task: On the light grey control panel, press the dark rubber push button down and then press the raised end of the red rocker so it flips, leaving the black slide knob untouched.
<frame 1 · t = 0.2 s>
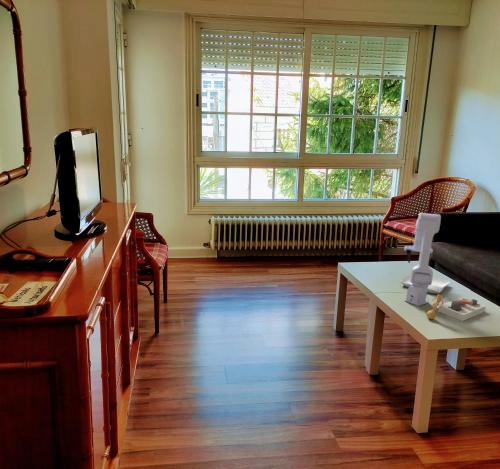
hand: (416, 263, 251), 11 cm above the table, tool pointing down, fingers open, 7 cm apart
panel: (461, 311, 215), on the table
slider: (473, 302, 215), point 4 cm above the table, slide at -2.0 cm
rocker: (463, 301, 213), point 5 cm above the table, hinge at -15.0°
salad plate: (424, 287, 246), on the table
button: (456, 305, 210), point 4 cm above the table, slide at 0.0 cm
figurine: (432, 319, 205), on the table
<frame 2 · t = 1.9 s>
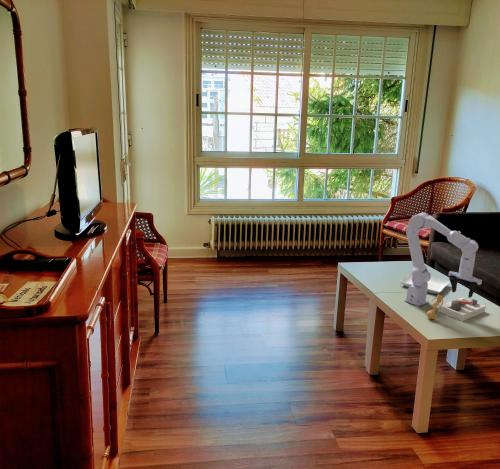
hand: (461, 294, 210), 10 cm above the table, tool pointing down, fingers open, 7 cm apart
nothing on the table moved.
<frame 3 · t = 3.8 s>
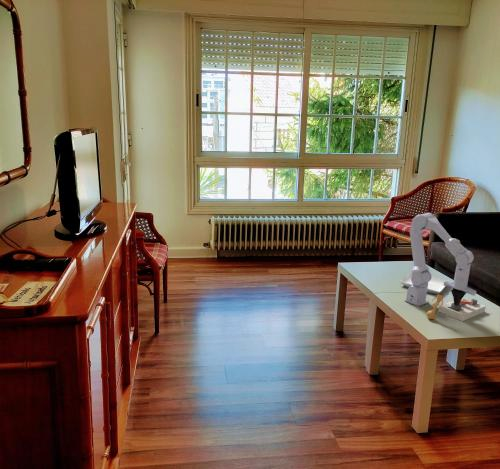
hand: (456, 304, 210), 5 cm above the table, tool pointing down, fingers closed, pressing on button
button: (455, 307, 210), point 3 cm above the table, slide at 1.1 cm, touching gripper
everything else where it was.
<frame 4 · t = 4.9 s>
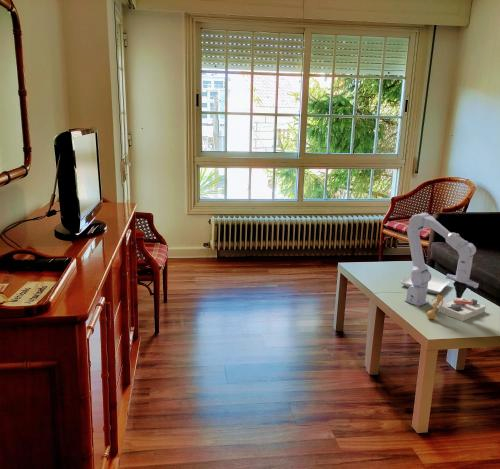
hand: (458, 297, 209), 8 cm above the table, tool pointing down, fingers closed
button: (455, 309, 210), point 3 cm above the table, slide at 1.8 cm
everything else where it was.
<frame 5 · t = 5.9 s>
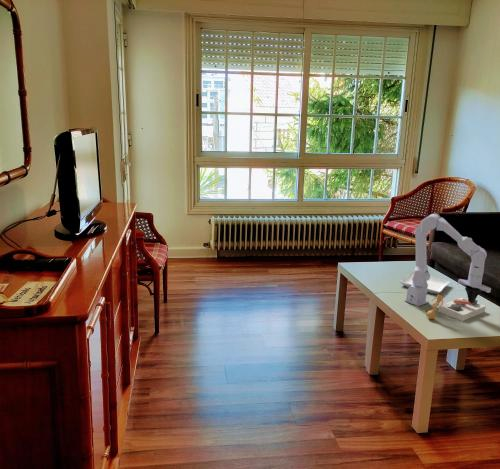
hand: (471, 302, 210), 6 cm above the table, tool pointing down, fingers closed, pressing on rocker
rocker: (463, 301, 213), point 5 cm above the table, hinge at -14.4°, touching gripper
everything else where it was.
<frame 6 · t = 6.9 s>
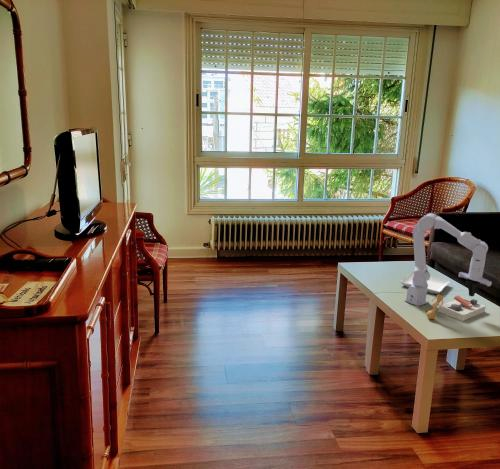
hand: (471, 295, 210), 9 cm above the table, tool pointing down, fingers closed
rocker: (463, 301, 213), point 5 cm above the table, hinge at 14.7°
everything else where it was.
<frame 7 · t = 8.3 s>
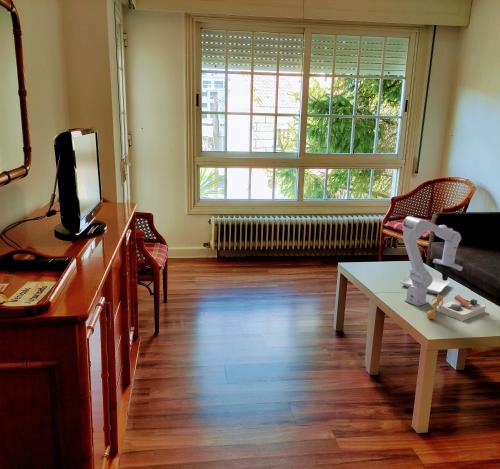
hand: (444, 280, 227), 10 cm above the table, tool pointing down, fingers closed
rocker: (463, 301, 213), point 5 cm above the table, hinge at 18.9°
everything else where it was.
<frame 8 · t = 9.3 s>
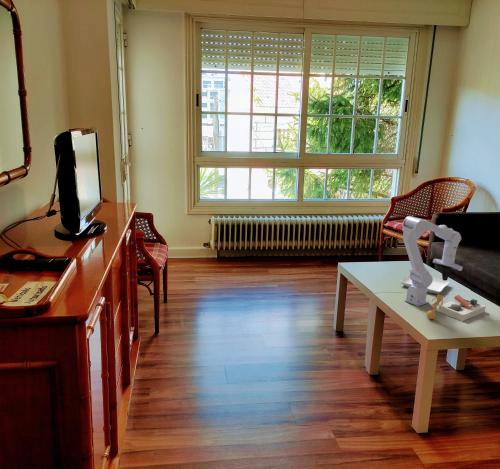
hand: (444, 280, 227), 10 cm above the table, tool pointing down, fingers closed
rocker: (463, 301, 213), point 5 cm above the table, hinge at 19.4°
everything else where it was.
at the end: button slide at 1.8 cm; rocker at +19° (first picture: -15°); slider slide at -2.0 cm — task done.
